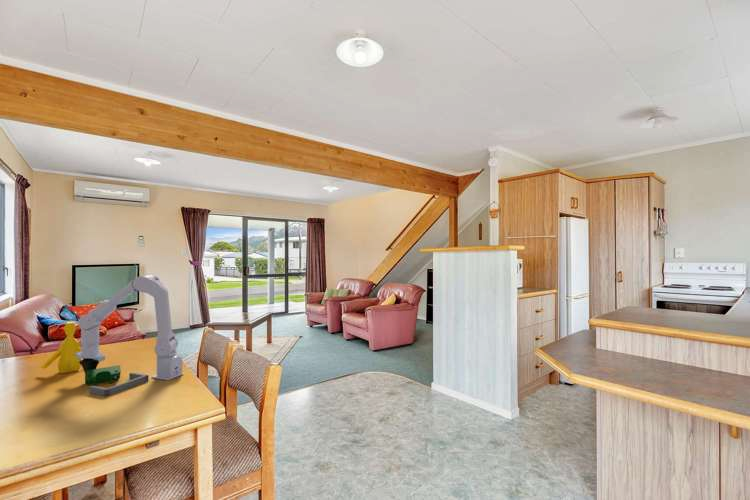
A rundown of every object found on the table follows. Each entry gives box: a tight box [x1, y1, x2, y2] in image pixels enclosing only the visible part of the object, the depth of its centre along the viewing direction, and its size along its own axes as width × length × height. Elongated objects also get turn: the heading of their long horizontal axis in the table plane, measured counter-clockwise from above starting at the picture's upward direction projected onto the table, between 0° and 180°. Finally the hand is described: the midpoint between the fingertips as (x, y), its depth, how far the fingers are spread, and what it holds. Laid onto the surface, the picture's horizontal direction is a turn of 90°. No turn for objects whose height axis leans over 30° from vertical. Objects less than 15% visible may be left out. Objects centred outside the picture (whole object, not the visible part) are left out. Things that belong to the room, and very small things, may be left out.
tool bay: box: [88, 371, 149, 398], centre depth 137 cm, size 9×16×2 cm, turn 161°
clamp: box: [84, 364, 122, 386], centre depth 140 cm, size 12×6×9 cm, turn 123°
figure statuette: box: [40, 321, 82, 374], centre depth 154 cm, size 18×8×22 cm, turn 135°
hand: (89, 376), depth 142 cm, fingers closed
